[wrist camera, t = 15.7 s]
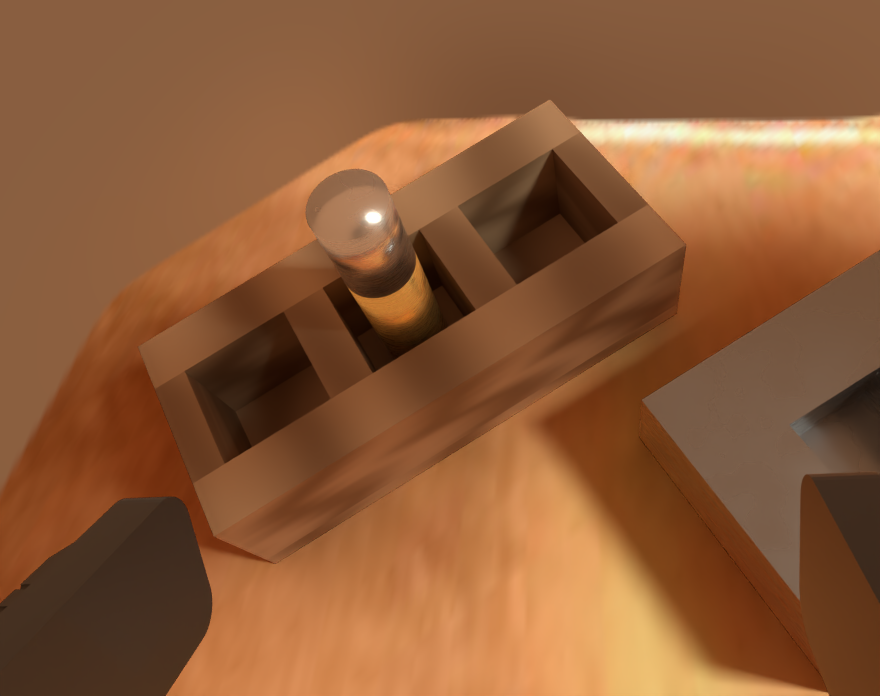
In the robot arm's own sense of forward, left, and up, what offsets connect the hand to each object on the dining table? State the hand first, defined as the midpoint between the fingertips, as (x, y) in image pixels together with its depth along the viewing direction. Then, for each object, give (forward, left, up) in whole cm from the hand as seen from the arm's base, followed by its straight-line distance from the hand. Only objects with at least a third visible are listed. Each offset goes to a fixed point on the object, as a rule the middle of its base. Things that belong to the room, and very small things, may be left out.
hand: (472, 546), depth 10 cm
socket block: (-14, 0, -23) cm, 27 cm away
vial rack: (-2, -15, -23) cm, 28 cm away
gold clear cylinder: (-2, -15, -22) cm, 27 cm away
